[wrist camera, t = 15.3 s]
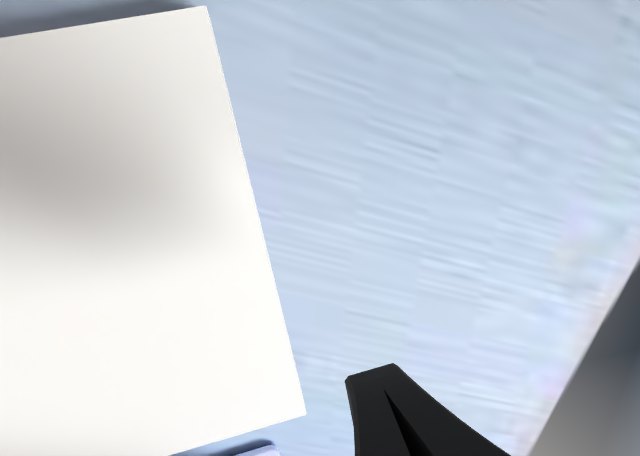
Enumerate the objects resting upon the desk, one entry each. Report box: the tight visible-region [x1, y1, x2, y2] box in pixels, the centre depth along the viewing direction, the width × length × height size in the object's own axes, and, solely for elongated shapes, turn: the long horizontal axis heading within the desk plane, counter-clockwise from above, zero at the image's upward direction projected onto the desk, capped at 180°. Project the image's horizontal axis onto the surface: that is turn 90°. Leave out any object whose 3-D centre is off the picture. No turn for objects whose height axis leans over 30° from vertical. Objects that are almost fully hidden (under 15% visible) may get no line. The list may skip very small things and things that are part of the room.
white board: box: [0, 5, 307, 456], centre depth 16 cm, size 18×16×2 cm
